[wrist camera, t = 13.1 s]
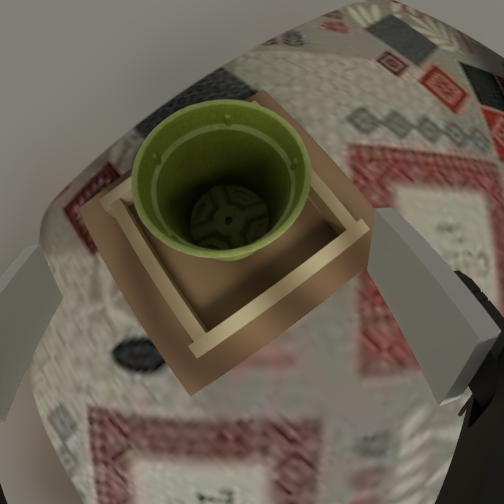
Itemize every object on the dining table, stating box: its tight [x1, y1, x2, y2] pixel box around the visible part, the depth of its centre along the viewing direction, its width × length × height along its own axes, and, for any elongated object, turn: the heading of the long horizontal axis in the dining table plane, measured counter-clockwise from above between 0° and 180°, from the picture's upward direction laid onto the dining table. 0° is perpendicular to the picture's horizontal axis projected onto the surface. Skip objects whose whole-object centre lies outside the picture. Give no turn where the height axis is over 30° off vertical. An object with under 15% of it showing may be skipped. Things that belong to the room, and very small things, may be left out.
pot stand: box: [78, 90, 375, 396], centre depth 24 cm, size 20×18×4 cm
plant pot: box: [131, 99, 311, 261], centre depth 20 cm, size 9×9×9 cm
